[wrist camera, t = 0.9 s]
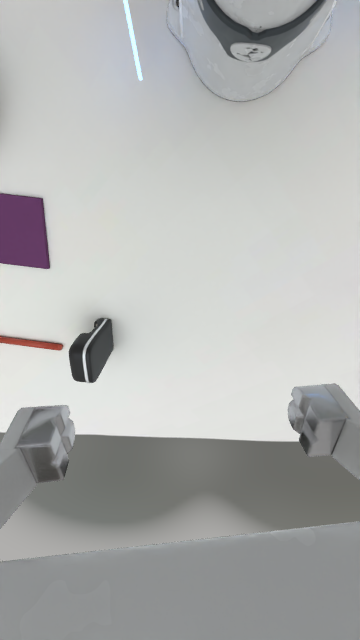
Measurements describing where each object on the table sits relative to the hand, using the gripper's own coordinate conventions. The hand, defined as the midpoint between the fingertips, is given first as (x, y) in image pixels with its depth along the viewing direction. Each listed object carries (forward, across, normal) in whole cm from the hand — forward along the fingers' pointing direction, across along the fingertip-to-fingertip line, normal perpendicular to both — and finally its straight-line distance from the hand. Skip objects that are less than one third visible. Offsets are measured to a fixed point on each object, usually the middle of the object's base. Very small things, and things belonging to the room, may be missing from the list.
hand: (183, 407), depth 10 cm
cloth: (+42, +27, +2) cm, 50 cm away
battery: (+38, +12, +20) cm, 45 cm away
